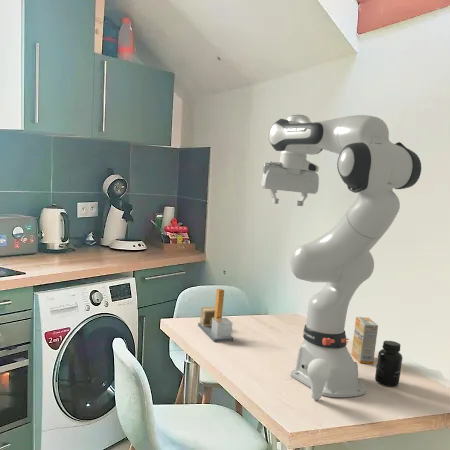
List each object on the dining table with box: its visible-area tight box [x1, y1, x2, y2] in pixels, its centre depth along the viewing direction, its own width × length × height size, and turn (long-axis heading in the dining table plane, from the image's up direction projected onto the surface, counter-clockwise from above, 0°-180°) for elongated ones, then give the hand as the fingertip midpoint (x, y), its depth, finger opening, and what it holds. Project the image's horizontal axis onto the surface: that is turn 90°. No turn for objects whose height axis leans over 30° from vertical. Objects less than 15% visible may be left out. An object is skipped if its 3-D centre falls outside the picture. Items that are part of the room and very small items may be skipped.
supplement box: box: [351, 316, 379, 365], centre depth 171 cm, size 8×5×13 cm, turn 6°
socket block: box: [199, 306, 215, 326], centre depth 190 cm, size 4×6×6 cm, turn 111°
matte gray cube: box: [211, 317, 233, 339], centre depth 179 cm, size 6×5×5 cm
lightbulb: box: [307, 358, 331, 401], centre depth 137 cm, size 6×6×11 cm
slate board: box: [197, 322, 235, 343], centre depth 185 cm, size 18×7×1 cm, turn 21°
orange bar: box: [210, 288, 225, 326], centre depth 181 cm, size 10×4×14 cm, turn 21°
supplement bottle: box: [374, 340, 403, 388], centre depth 153 cm, size 7×7×12 cm
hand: (287, 204), depth 178 cm, fingers open, 8 cm apart
